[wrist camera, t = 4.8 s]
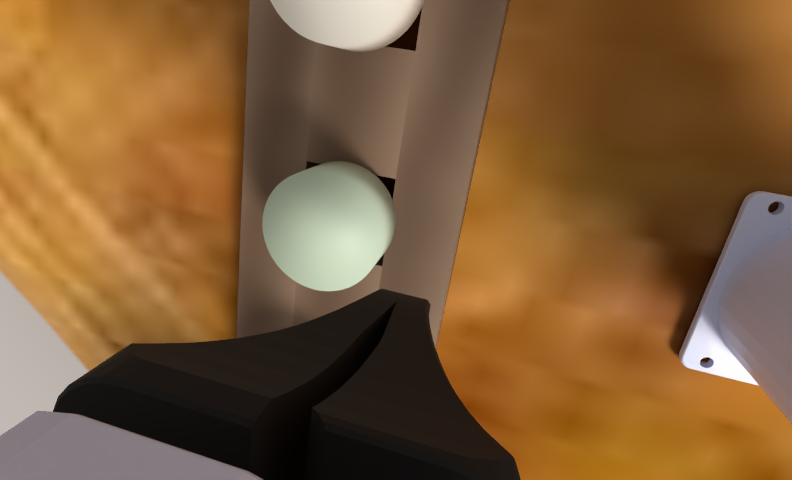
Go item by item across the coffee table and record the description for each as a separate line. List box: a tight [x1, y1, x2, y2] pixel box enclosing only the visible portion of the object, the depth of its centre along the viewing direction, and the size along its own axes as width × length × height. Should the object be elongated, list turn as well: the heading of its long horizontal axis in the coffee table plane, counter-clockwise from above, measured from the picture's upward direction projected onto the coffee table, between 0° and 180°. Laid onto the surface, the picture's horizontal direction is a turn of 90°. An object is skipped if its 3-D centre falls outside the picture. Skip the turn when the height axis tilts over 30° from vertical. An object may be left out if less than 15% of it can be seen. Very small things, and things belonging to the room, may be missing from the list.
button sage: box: [262, 161, 396, 291], centre depth 20 cm, size 5×5×4 cm
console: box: [236, 0, 510, 349], centre depth 21 cm, size 10×30×2 cm, turn 171°
